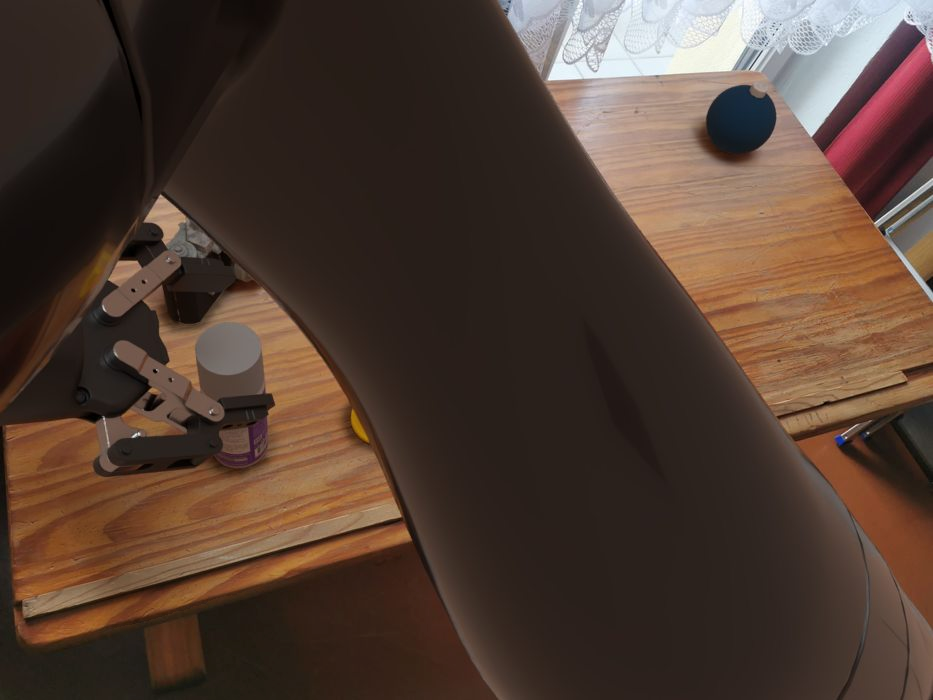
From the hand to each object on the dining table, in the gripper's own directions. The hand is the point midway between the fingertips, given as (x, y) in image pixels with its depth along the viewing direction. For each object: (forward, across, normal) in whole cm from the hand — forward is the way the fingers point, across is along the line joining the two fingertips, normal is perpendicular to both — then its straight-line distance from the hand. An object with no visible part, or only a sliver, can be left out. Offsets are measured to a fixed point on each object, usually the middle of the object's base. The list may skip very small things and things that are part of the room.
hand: (247, 340), depth 48 cm
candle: (+21, -3, +12) cm, 24 cm away
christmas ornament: (+72, +20, -13) cm, 76 cm away
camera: (+16, +16, +20) cm, 30 cm away
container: (+10, -1, +18) cm, 21 cm away
